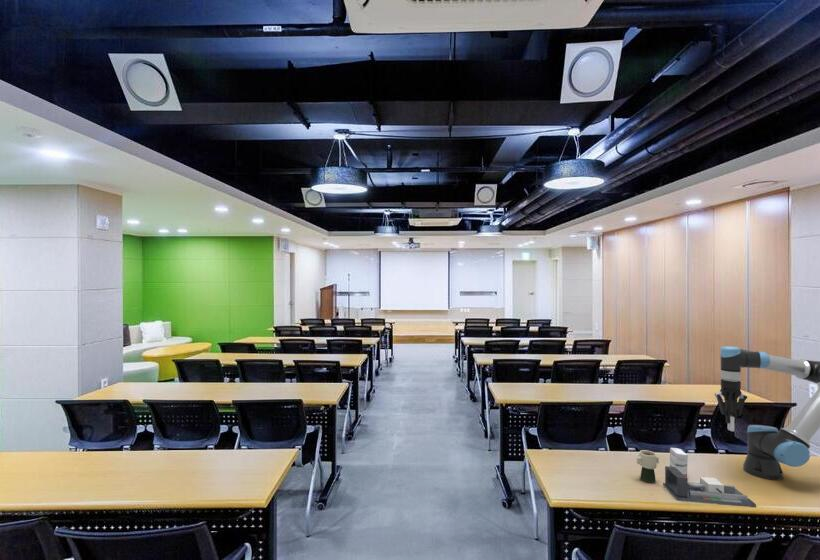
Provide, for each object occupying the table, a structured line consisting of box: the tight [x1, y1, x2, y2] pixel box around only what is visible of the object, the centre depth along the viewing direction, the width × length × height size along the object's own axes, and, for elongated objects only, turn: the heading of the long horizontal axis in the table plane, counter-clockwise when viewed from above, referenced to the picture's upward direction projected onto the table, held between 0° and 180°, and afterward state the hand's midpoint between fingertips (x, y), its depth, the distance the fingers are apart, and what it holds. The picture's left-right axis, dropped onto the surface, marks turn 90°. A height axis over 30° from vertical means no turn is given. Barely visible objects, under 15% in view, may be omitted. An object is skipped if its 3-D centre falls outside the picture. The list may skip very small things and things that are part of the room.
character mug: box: [636, 449, 660, 483], centre depth 198 cm, size 11×7×13 cm, turn 97°
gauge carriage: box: [688, 476, 725, 493], centre depth 182 cm, size 12×11×5 cm
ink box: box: [669, 447, 689, 478], centre depth 204 cm, size 9×5×12 cm, turn 168°
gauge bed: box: [662, 465, 757, 508], centre depth 184 cm, size 30×14×9 cm, turn 81°
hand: (730, 430), depth 197 cm, fingers closed
